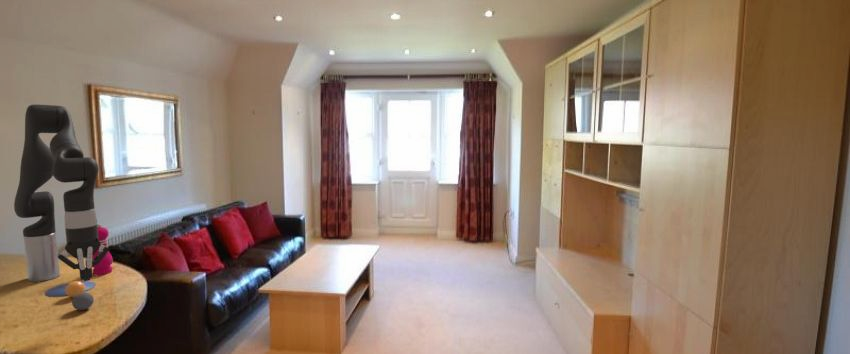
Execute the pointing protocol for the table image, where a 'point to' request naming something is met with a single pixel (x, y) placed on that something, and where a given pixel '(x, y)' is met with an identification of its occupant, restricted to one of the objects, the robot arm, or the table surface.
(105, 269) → the pepper mill
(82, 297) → the gray ball
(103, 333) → the table surface
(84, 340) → the table surface
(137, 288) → the table surface
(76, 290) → the object ball
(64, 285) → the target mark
